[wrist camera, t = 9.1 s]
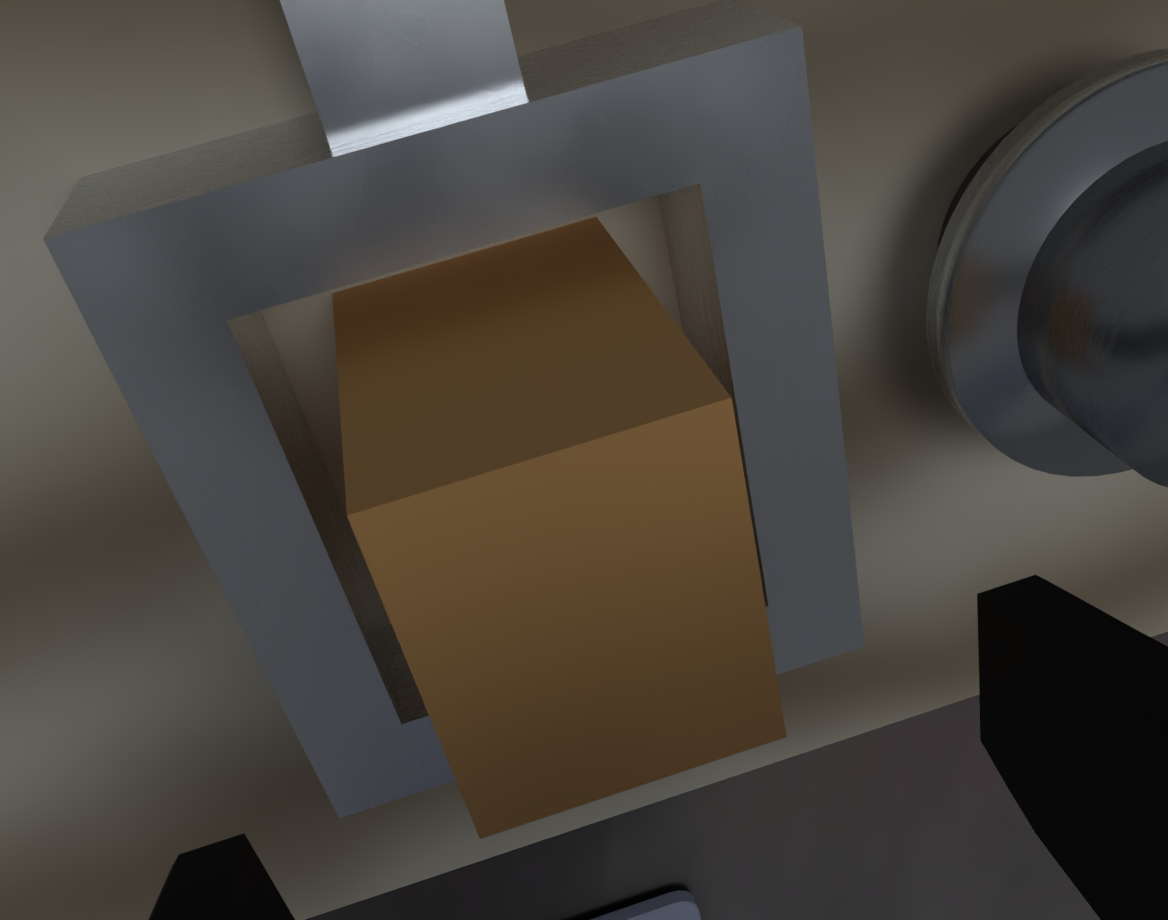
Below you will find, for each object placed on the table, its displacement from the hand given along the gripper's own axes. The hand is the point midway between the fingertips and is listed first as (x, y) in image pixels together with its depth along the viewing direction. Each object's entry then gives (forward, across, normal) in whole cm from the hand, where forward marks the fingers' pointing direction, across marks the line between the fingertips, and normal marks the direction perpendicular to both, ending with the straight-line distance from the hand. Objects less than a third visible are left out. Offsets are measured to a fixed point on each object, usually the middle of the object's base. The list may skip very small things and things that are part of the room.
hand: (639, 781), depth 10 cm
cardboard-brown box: (+8, 0, 0) cm, 8 cm away
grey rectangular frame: (+8, -4, -2) cm, 9 cm away
